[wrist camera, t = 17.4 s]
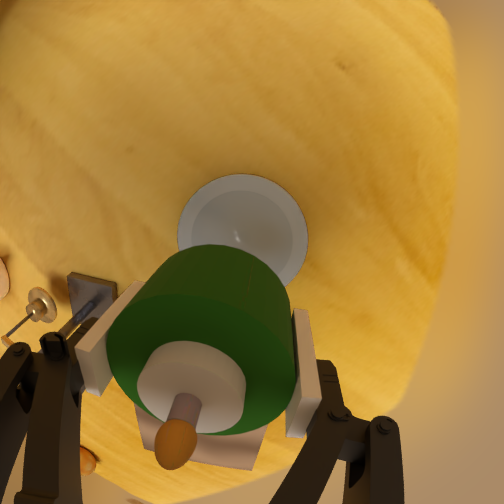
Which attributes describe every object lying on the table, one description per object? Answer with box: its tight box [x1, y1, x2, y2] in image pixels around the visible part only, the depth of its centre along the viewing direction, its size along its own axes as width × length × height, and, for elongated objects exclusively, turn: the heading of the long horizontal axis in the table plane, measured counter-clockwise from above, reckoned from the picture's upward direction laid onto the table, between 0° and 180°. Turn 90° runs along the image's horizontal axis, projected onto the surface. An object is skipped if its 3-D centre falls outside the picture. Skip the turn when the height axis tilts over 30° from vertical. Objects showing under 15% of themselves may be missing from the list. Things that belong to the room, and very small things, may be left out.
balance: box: [1, 272, 117, 394], centre depth 27 cm, size 7×18×16 cm, turn 82°
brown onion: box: [80, 447, 96, 476], centre depth 48 cm, size 8×8×8 cm
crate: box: [134, 403, 268, 471], centre depth 29 cm, size 12×12×13 cm
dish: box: [177, 174, 308, 287], centre depth 30 cm, size 13×13×1 cm
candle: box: [106, 244, 296, 470], centre depth 12 cm, size 8×8×10 cm
